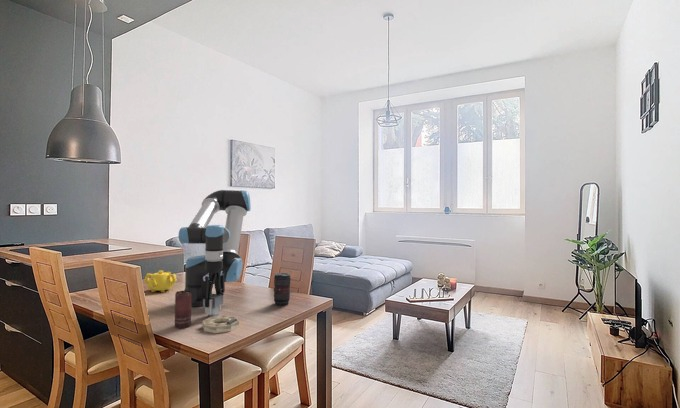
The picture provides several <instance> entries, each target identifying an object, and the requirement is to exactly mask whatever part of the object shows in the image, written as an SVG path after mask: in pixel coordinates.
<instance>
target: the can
mask: <svg viewBox="0 0 680 408" xmlns="http://www.w3.org/2000/svg"><path fill="white" fill-rule="evenodd" d="M174 297H175V299H174V327H175V328H176V329H186V328H189V327H190V326H191V325H192V307H191V297H192V293H191V291H184V290H179V291H176V292H175V296H174Z"/></svg>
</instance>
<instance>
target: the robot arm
mask: <svg viewBox="0 0 680 408" xmlns="http://www.w3.org/2000/svg"><path fill="white" fill-rule="evenodd" d="M251 205H252V204H251V196H250V193H249V191H247V190H229V189H220V190H216V191H213V192H212V193H210V194H208V195H207V196H206V197H205V198H204V199H203V200H202V202H201V207H200V208H199V210H198V212H197V214H196V215H195V216H194V217H193V219H192V221H191V222H190V223H189V225H188V226H185V227H181V228H180V229H179V231H178V240H179V242H180V243H181V244H188V245H189V244H190V245H191V244H192V245H193V244H196V245H197V244H202V245H203V244H204V245H205V248H204V249H205V250H204V251H205V253H204V254H202V255H196V256H191V257H188V258H187V259H186V261H185V267H184V269H185V270H184V271H185V272H184V273H185V275H184V276H185V277H184V279H185V280H184V281H185V282H184V287H185V288H184V290H183V291H191V293H192V297H191V308H192V307H193V308H194V307H204V314H205V315H207V316H208V315H211V311H212V299H210V298H211V294H213V288H215V289H214V290H215V294H219V295H223V296H224V294H225V292H226V291H225V283H232V282H233V283H235V282H237V281H238V280H239V279H240V277H241V275H242V272H243V265H244V262H243V259H242V258H241V256H240V254H239V253H238V252H239V247H240V241H241V234H242V227H243V221H244V217H246V216H247V213H248V212H250V211H251V209H252V208H251ZM220 211H225V213H226V221H225V226H224V225H222V224H210V222H211V221H212V219H213V217H214V215H215V214H217V213H218V212H220ZM203 299H205V306H203ZM218 311H222V305H219V306H218Z"/></svg>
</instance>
